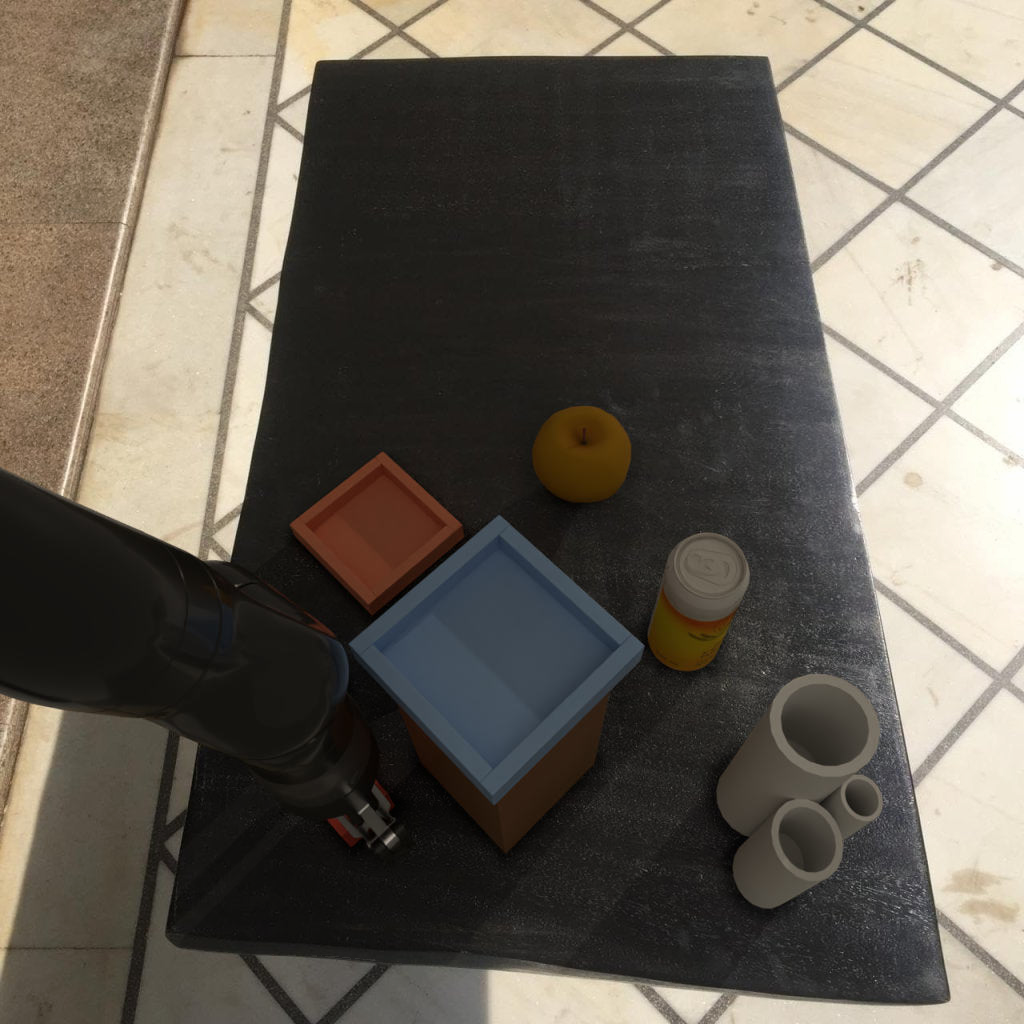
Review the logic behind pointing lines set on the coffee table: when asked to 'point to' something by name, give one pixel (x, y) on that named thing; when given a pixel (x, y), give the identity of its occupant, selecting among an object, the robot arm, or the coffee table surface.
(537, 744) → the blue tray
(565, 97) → the coffee table surface
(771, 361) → the coffee table surface
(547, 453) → the apple
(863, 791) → the vase
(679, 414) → the coffee table surface
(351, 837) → the red block
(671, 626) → the beer can
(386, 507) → the red tray
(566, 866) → the coffee table surface
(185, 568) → the robot arm
